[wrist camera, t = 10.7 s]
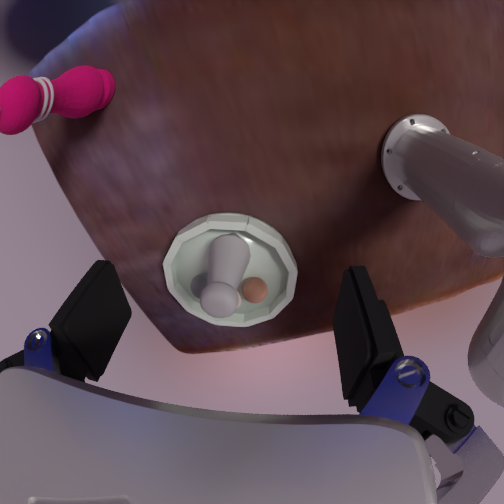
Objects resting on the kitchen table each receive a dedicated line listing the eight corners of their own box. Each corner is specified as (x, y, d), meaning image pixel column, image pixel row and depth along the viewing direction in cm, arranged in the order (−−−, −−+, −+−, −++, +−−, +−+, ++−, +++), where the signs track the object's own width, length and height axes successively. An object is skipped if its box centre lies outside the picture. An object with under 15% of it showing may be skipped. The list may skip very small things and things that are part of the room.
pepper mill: (124, 68, 27) (11, 73, 10) (112, 117, 31) (3, 158, 14) (85, 64, 26) (-26, 76, 9) (74, 109, 30) (-32, 148, 13)
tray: (302, 216, 38) (304, 226, 35) (287, 316, 49) (287, 329, 46) (162, 210, 38) (155, 219, 36) (178, 308, 49) (174, 320, 47)
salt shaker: (252, 228, 38) (245, 290, 27) (251, 262, 41) (244, 328, 31) (210, 226, 38) (188, 286, 28) (212, 260, 42) (194, 324, 31)
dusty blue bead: (218, 277, 44) (210, 267, 41) (220, 300, 43) (211, 292, 39) (195, 281, 45) (185, 272, 41) (196, 304, 43) (186, 296, 40)
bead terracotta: (267, 286, 45) (273, 278, 41) (261, 309, 43) (267, 303, 39) (243, 278, 44) (248, 269, 41) (236, 301, 43) (240, 294, 39)
